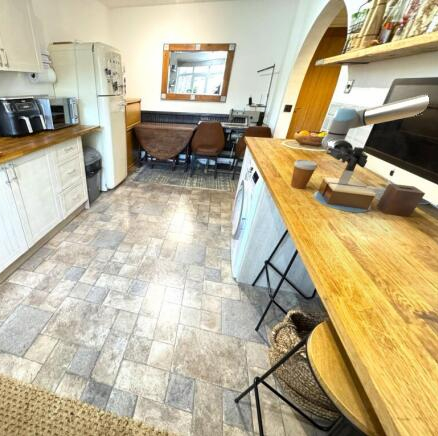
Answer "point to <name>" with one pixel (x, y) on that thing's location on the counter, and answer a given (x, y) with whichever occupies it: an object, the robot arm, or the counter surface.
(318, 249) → the counter surface
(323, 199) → the cake
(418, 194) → the knife block
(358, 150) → the cake knife
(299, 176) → the disposable coffee cup
